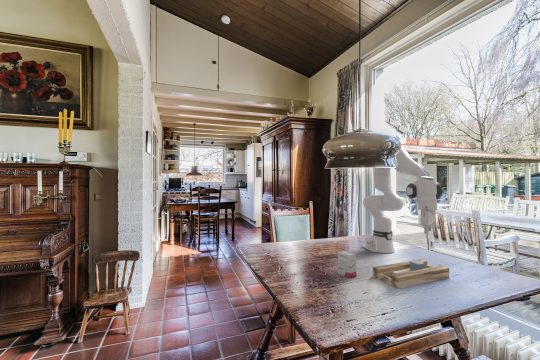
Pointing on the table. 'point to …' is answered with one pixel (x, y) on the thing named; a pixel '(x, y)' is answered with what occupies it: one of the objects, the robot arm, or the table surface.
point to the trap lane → (410, 282)
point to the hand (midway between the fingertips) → (427, 232)
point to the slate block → (417, 265)
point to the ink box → (346, 264)
